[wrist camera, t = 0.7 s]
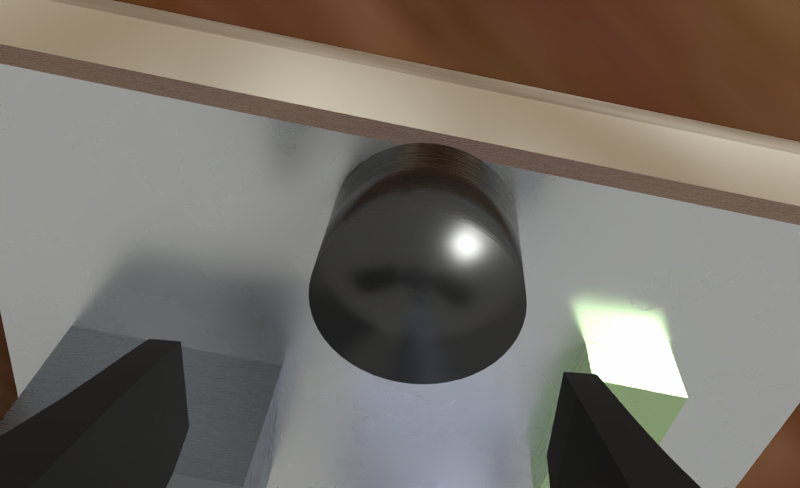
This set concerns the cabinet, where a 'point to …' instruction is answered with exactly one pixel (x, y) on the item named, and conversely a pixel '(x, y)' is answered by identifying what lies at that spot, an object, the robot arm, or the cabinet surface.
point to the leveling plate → (256, 235)
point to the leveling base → (406, 94)
